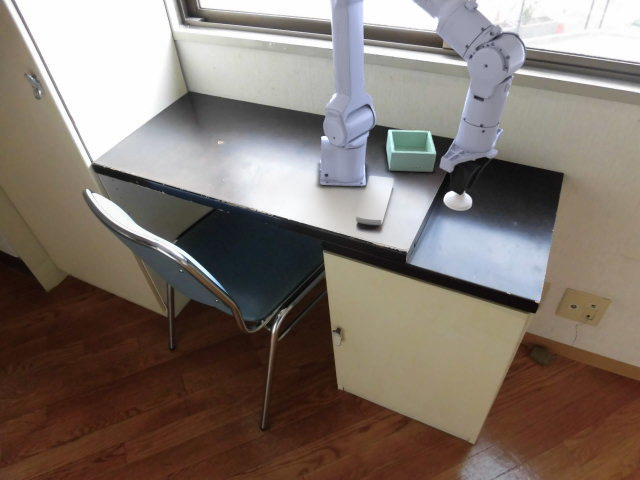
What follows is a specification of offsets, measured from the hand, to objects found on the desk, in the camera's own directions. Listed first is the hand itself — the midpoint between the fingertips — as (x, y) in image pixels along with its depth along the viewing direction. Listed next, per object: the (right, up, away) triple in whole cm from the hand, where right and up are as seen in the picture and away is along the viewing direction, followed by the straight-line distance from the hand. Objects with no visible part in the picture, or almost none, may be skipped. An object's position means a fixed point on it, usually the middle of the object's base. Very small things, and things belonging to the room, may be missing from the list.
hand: (461, 189), depth 82 cm
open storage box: (-5, +9, +24) cm, 26 cm away
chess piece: (0, -2, +2) cm, 3 cm away
